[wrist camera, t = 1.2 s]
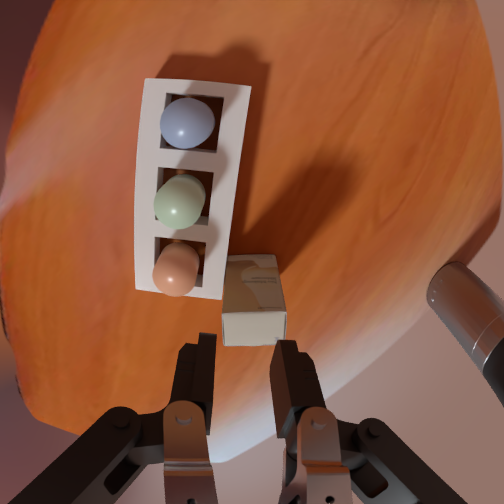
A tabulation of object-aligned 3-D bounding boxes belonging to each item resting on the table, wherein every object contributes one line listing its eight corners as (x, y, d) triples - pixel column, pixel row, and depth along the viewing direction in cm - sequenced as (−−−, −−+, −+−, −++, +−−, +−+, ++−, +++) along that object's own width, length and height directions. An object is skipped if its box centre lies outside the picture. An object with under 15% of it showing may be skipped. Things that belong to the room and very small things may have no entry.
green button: (208, 176, 31) (204, 184, 28) (203, 218, 33) (199, 231, 30) (164, 171, 31) (154, 179, 27) (161, 214, 33) (152, 226, 29)
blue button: (217, 102, 28) (215, 100, 24) (211, 146, 30) (208, 151, 26) (172, 98, 28) (163, 96, 24) (166, 142, 30) (157, 146, 26)
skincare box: (275, 253, 38) (291, 310, 27) (274, 282, 40) (288, 345, 29) (224, 254, 38) (220, 313, 27) (226, 284, 40) (223, 348, 29)
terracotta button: (200, 244, 35) (197, 260, 31) (198, 280, 37) (194, 298, 33) (160, 240, 34) (152, 255, 31) (159, 275, 36) (152, 293, 33)
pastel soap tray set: (250, 89, 30) (251, 86, 27) (222, 287, 40) (221, 299, 37) (152, 81, 29) (145, 78, 26) (141, 277, 39) (135, 289, 36)
